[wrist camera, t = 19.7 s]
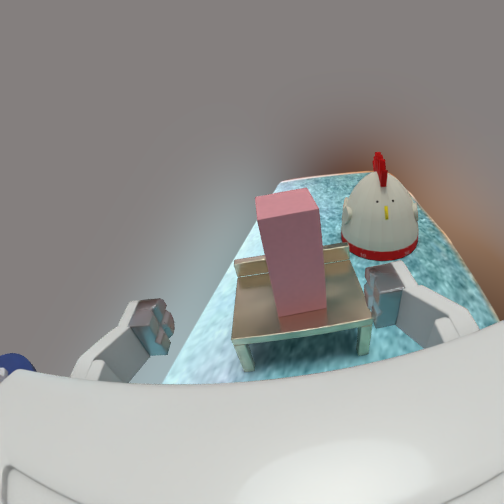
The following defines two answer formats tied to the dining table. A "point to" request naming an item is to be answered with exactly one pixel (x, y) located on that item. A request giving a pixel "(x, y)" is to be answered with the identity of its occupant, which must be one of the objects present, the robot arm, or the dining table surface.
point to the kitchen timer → (380, 217)
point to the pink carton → (293, 250)
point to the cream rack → (302, 324)
